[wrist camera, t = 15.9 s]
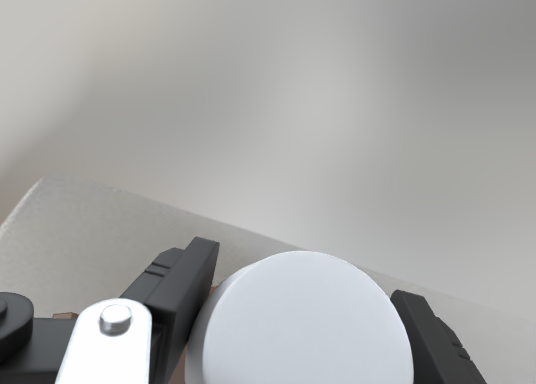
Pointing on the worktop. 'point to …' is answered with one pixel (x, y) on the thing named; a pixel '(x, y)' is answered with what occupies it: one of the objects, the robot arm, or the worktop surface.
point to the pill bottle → (298, 327)
